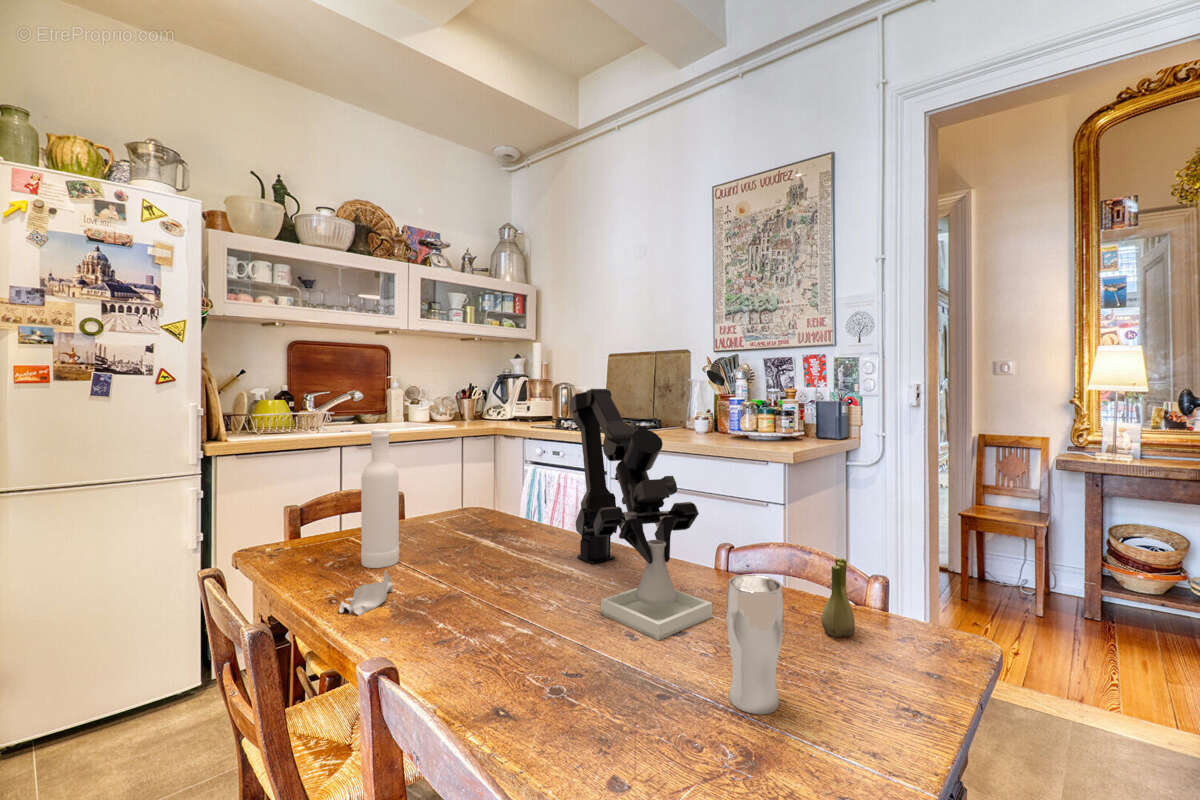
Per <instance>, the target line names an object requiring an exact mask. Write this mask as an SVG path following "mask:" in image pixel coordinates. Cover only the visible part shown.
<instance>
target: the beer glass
mask: <svg viewBox="0 0 1200 800" xmlns="http://www.w3.org/2000/svg"><path fill="white" fill-rule="evenodd" d="M727 581H728V586H727V593H726V594H727V596H726V610H725V611H726V613H725V616H726V621H725V622H726V632H727V637H728V638H727V639H728V645H729V646H728V647H729V650H730V651H729V652H730V655H731V656H730V657H731V663H732V671H731V672H732V675H731V682H730V685H729V693H728V699H729V701H730V703H731V704H732V706H734V707H735V708H737V710H740V711H742V712H744V713H748V714H752V715H760V716H761V715H769V714H772V713H773V712H776V711H777V710H778V708H779V707H780V706H779V705H780V699H779V694H778V693H779V692H778V688H777V667H778V662H779V661H778V660H779V657H780V651H781V647H782V646H781V645H782V642H783V636H784V635H783V633H784V620H785V616H784V614H785V613H784V597H783V584H782V583H781V582H780V581H779V580H776V579H775V578H771V577H768V576H763V575H760V574H738V575H735V576H731V577H730V578H729V579H728V580H727Z"/></svg>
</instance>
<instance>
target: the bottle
mask: <svg viewBox="0 0 1200 800" xmlns="http://www.w3.org/2000/svg"><path fill="white" fill-rule="evenodd" d="M370 432H371V435H370V439H371V442H370V443H371V448H370V449H371V455H370V456H371V461H370V462H369V463H368V464H367V465H366V466H365V467H364V469H363V470H362V471H363V472H362V474H361V477H360V478H361V481H360V482H361V483H360V485H361V488H360V489H361V495H360V496H361V500H360V503H361V512H360V513H361V517H360V518H361V522H360V523H361V550H360V559H361V565H362V567H364V568H367V569H381V568H387V567H392V566H394V565H396V564H397V563H398V562H399V558H400V557H399V556H400V544H399V541H400V540H399V538H400V537H399V535H400V532H399V531H400V530H399V526H400V523H399V521H400V519H399V518H400V517H399V516H400V514H399V511H400V510H399V508H400V507H399V504H400V503H399V502H400V501H399V499H400V497H399V495H400V494H399V493H400V492H399V481H400V480H399V479H400V478H399V472H398V470H397V467H396V465H395V464H394V463H392V462H391V461H390V449H389V448H390V447H389V446H390V445H389V444H390V443H389V442H390V441H389V440H390V431H389V429H388V428H377V429H372V430H371V431H370Z"/></svg>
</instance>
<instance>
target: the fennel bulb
mask: <svg viewBox="0 0 1200 800" xmlns="http://www.w3.org/2000/svg"><path fill="white" fill-rule="evenodd" d="M820 620H821V625H822V628H823V629H824V631H825V633H826V634H828V635H830V636H832V637H836V638H838V637H839V638H843V637H844V638H845V637H847V638H849V637H851V636H852V635H854V633H855V630H856V628H855V626H856V624H855V623H856V622H855V616H854V611H853V609H852V606H851V603H850V600H849V597H848V591H847V559H845V558H841V557H840V558H835V565H831V595H829V598H828V599H827V601H826V603H825V605H824V608H823V610H822V613H821V619H820Z"/></svg>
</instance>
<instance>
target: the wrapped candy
mask: <svg viewBox="0 0 1200 800" xmlns="http://www.w3.org/2000/svg"><path fill="white" fill-rule="evenodd" d="M392 581H393V580H392V577H391V576H390V575H389V574H388V570H387V569H386V570H384V572H383V581H379V582H374V583H368V584H362V585H360V586H359V587H357V588H355V589H354V590H353V595H352V597H347V598H345V601H348V602H350V603H349V604H348V603H345V602H344V601H343V600H342V601H341V602H340V604H339V609H338V611H337V614H339V613H340V614H343V613H344V612H345V610H348V615H349V616H350V615H351V614H352V613H354V614H356V616H357V615H358V617H360V616H362V615H363V614H364V613H367V612H369V611H371V610H374V609H376V608H378V607H379V606H381V605H383V603H384V602H386V598H387V594H388V592H389V593H392V592H393V591H394V584H393V583H392Z"/></svg>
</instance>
